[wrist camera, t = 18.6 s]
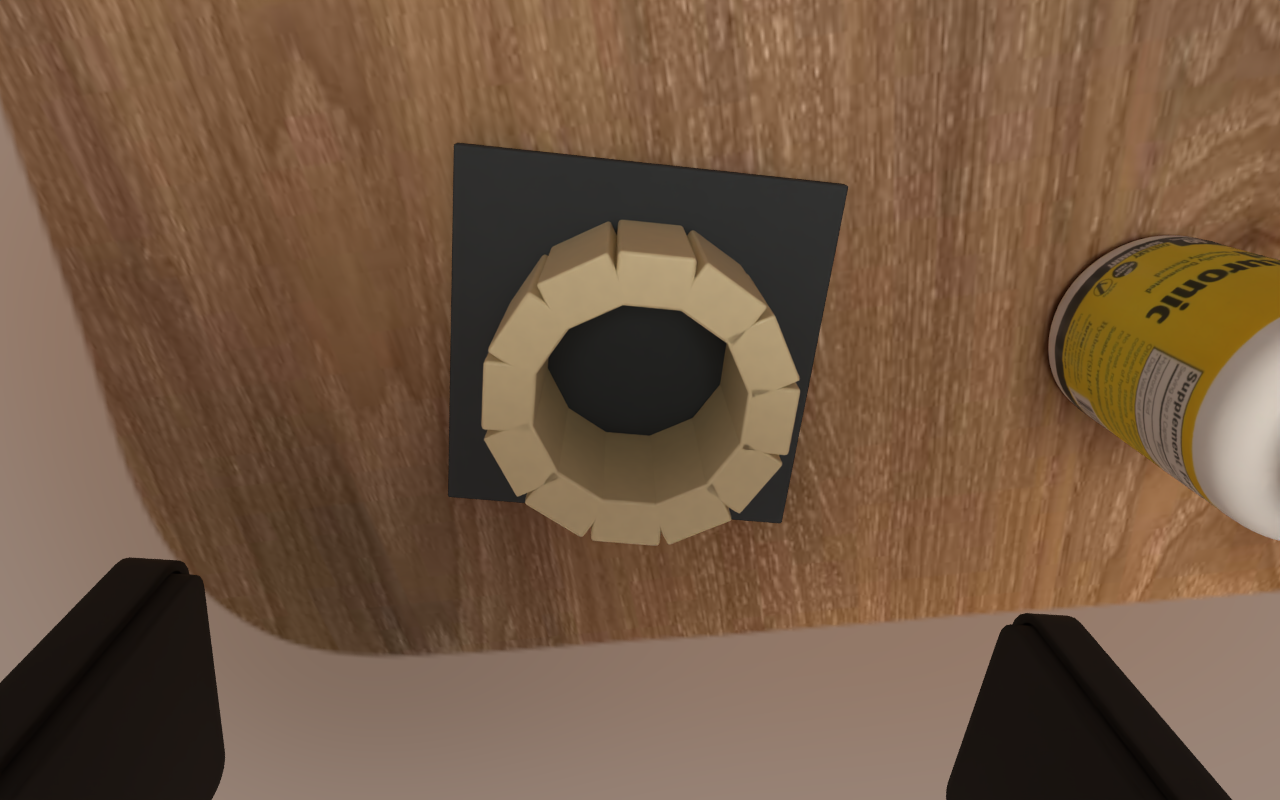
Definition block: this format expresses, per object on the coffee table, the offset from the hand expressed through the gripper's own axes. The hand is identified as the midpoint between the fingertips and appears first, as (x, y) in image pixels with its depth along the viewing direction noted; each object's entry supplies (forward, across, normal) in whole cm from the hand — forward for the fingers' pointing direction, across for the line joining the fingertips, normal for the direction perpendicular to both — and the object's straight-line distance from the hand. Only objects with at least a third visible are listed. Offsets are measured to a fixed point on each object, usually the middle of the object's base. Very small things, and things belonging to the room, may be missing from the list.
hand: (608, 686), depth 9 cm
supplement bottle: (+14, -15, -2) cm, 20 cm away
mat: (+14, -1, 0) cm, 14 cm away
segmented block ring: (+13, -1, 0) cm, 13 cm away
